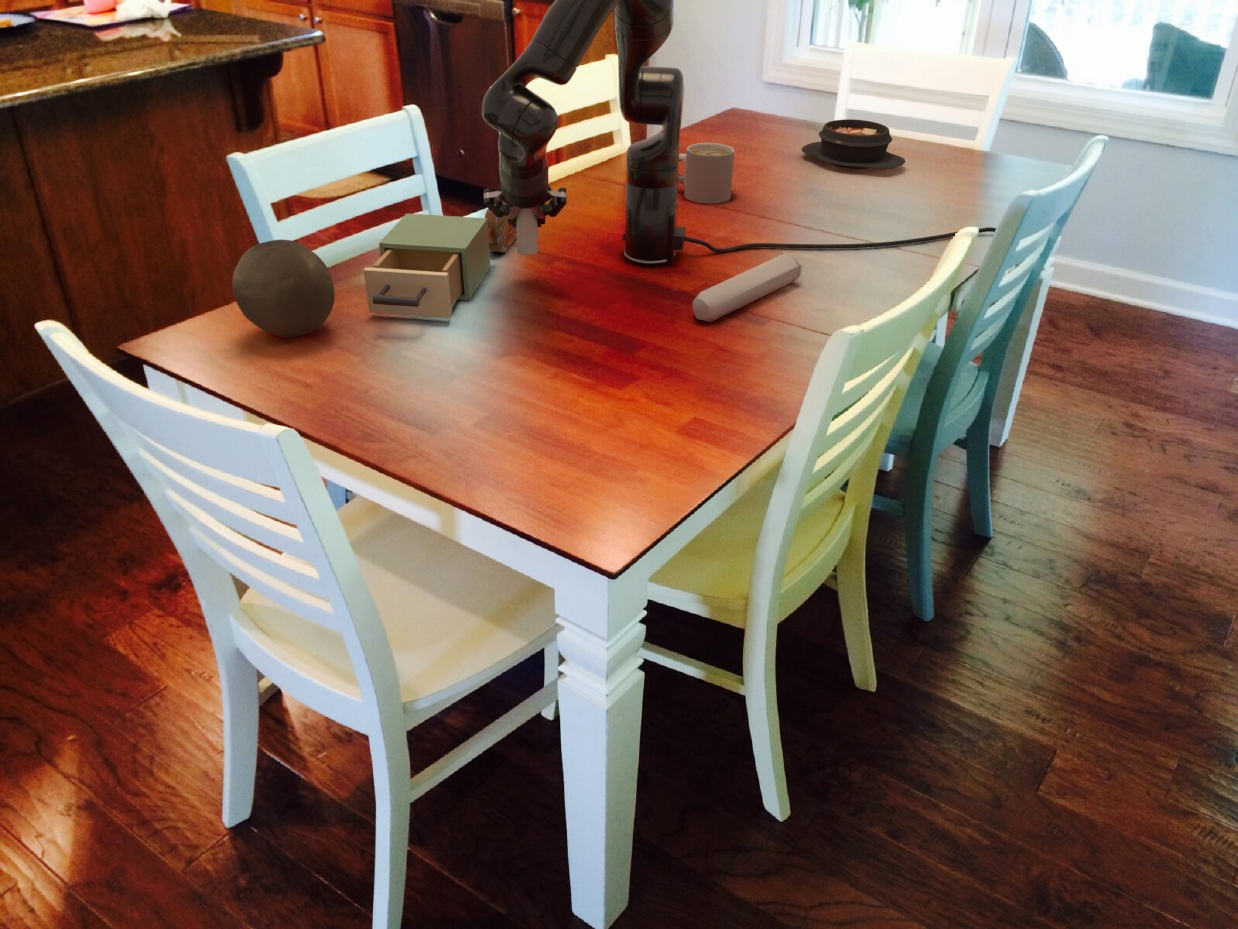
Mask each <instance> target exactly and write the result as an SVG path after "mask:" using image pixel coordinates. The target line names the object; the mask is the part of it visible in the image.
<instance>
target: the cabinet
mask: <svg viewBox="0 0 1238 929" xmlns="http://www.w3.org/2000/svg"><path fill="white" fill-rule="evenodd" d="M378 246H379V254H380V257H381V256H382V255H383V254H384V253H385V252H386V251H387V250H388V249H389V248H397V249H413V250H428V251H443V252H459V253H461V254H462V268H463V281H464V290H463V291H462V293H461V294H460V296H459V297H458V299H457V300H458V301H459V300H460V301H470V300H471V299H472V297H473V295H474V294H475V292H476V291H477V289H478V287H480V285H481V283H482V281H483V280H484V278H485V277H486V275H487V274H488V272H489V270H490V269H491V257H490V256H491V254H490V250H489V237H488V220H487V218H485V217H471V216H454V215H438V214H437V215H436V214H421V213H405V214H404V215H403V216H402V217H401V219H400V220H399V221H398V222H397V223H395V225H394V226H393V227H392V228H391V229H390V230H389V231H388V232H387V234H386V235H385V236H383V238H382V239H381V240H380V241H379V242H378Z"/></svg>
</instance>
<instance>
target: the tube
mask: <svg viewBox="0 0 1238 929" xmlns="http://www.w3.org/2000/svg"><path fill="white" fill-rule="evenodd" d="M802 266H803V264H802V263H801V261H800V260H799V259H798V258H797V256H796V255H795V254H794V253H791V252H786V251H783V252H782V253H781V254H780V255H777V256H776V257H773V258H771V259H769V260H767V261H765V262H763V263H760V264H758V265H756V266H753V267H752V268H750V269H747V270H744V271H743V272H741V273H739V274H736V275H734V276H732V277H730V278H728V279H726V280H723V281H722V282H720V283H717V284H715V285H713V286H710V287H708V288H706V289H704V290H702V291H700V292H699V293H698V294H697V296H696V297H695V298H694V299H693V300H692V303H691V307H692V312H693V314H694V316H695V318H696V320H700V321H705V322H707V323H713V322H714V321H716V320H718V319H720V318H722V317H724V316H727V315H728V314H731V313H732V312H734V311H737V310H739V309H741V308H742V307H745V306H747V305H748V304H751V303H753V302H754V301H756V300H760V298H763V297H765V296H767V295H770V294H771V293H773V292H775V291H777V290H779V289H781V288H783V287H785V286H787V285H789V284H794V283H795V282H796V281H797V280H799V278H801V274H802V268H803V267H802Z"/></svg>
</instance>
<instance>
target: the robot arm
mask: <svg viewBox="0 0 1238 929" xmlns="http://www.w3.org/2000/svg"><path fill="white" fill-rule="evenodd" d="M611 13H612V20H613V27H614V34H615V41H616V48H617V49H616V50H617V59H618V60H617V62H618V63H617V64H618V104H619V110H620V113H621V116H622V117H623V120H624V121H626V122H627V123H630V124H634V125H651V126H662V129H660V131H659V132H658V133H656V134H654V135H652V136H651V137H648V138H644V139H642V140H638V141H636V142H633V143H632V144H630V145H629V146H628V148H627V149H626V163H625V164H626V166H625V167H626V168H625V169H626V170H625V214H624V215H625V216H624V218H625V219H624V220H625V221H624V234H622V242H624V251H623V257H624V259H625V260H626V261H627V262H629V263H631V264H634V265H638V266H645V267H656V266H657V267H659V266H664V265H674V262H675V259H676V253H677V251H683V250H684V247H685V243H686V242H688V243H693V244H697V245H700V246H703V247H706V248H707V249H708V250H710V251H711V252H713V253H718V254H726V253H732V252H736V251H740V250H744V249H745V250H746V249H751V248H773V249H774V248H775V249H813V250H815V249H819V250H822V249H825V250H827V249H829V250H830V249H835V250H836V249H867V248H880V247H893V246H901V245H902V246H903V245H910V244H917V243H924V242H930V241H937V240H943V239H948V238H954V237H956V236H955V233H957V232H958V231H954V232H948V233H943V234H937V235H931V236H925V237H924V236H923V237H918V238H917V237H916V238H910V239H909V238H908V239H902V240H900V239H899V240H892V241H881V242H866V243H829V244H828V243H776V242H775V243H774V242H754V243H753V242H751V243H744V244H739V245H736V246H732V247H726V248H718V247H715V246H713V245H712V244H711V243H709V242H707V241H705V240H701V239H698V238H693V237H689V236H686V226H678V213H679V203H678V192H679V182H678V174H680V173H679V172H680V171H679V170H680V161H679V154H680V145H681V144H680V143H681V128H682V119H683V110H684V109H683V108H684V100H685V78H684V75H683V72H682V70H680V69H679V68H677V67H669V66H647V65H646V66H645V63H647V62H648V61H649V60H650V59H651V58H652V57H653V56H654V55H655V54H656V53H657V52H658V51H659V49H661V48H662V47H663V45H664V44H665V43H666V42H667V40H668V38H669V37H670V35H671V33H672V31H673V27H674V24H675V0H554V2H553V3H552V4H551V6H549V8H548V10H547V11H546V13H545V14H544V16H543V17H542V20H541V21H540V24H539V25H538V27H537V29H536V31H535V33H534V35H533V36H532V38H531V40H530V42H529V43H528V45H527V46H526V48H525V49H524V50H523V51H522V53H521V54H520V55H519V56H518V57H517V59H516V60H515V61H514V62H513V63H512V64H511V65H510V66H509V68H507V70H505V72H504V73H503V74H502V75H500V76H499V77H498V78H497V80H496V81H494V82H493V84H492V85H491V86H490V87H489V88H488V89H487V91H486V92H485V94H484V97H483V99H482V101H481V102H482V103H481V115H482V119H483V120H484V122H485V124H487V125H488V126H489V127H490V128H492V129H493V130H495V131H496V132H498V133H499V136H498V140H497V150H498V158H499V160H498V174H499V175H498V176H499V184H500V186H499V188H498V190H494V191H493V189H491V188H489V187H487V188H484V189H483V204H484V206H485V207H486V208H487V210H488V209H489V210H490V211H491V212H492V213H493V214H494V215H495V216H496V217H499V218H501V217H503V216H507V218H508V224H509V225H512V227H516V215H517V214H518V212H519V210H520V209H525V208H527V209H532V210H533V212H534V213H535V215H537V226H538V228H542V225H545V224H546V217H547V216H548V217H550V218H556V217H557V216H558V215H559V213H560V212H561V211H562V210H563V209H564V207H565V206H566V205H567V203H568V202H567V201H568V200H567V197H568V195H567V188H566V187H560V188H558V190H552V187H551V186H550V185H549V183H550V182H549V181H550V180H549V179H550V178H549V169H550V166H549V162H548V157H547V148H548V146H549V143H550V141H551V140H552V139H553V137H554V135H555V133H556V132H557V129H558V126H559V116H558V112H557V110H556V109H555V107H554V106H553V105H552V104H551V103H549V101H547V100H545V99H544V98H542V97H541V96H540V95H538V94H537V93H535V92H533V91H532V89H529V88H528V87H527V86H528V85H529V84H530V83H531V82H533V81H535V80H537V79H542V80H545V81H547V82H550V83H552V84H555V85H558V86H566V85H567V84H568V83H569V82H570V81H571V79H572V78H573V76H574V75H575V73H576V71H577V68H578V67H579V66H580V65H581V62H582V61H583V58H584V57H585V55H586V54H587V51H588V50H589V48H590V47H591V45H592V43H593V42H594V39H595V38H596V36H597V34H598V33H599V31H600V30H601V28H602V27H603V26H604V23H605V22H606V20H607V19H608V18H609V16H610V15H611ZM503 202H504V203H506V204H507V205H506V204H503ZM547 202H548V203H547ZM978 229H979V233H978V234H982V233H988V232H990V233H991V232H992V233H995V230H996V227H989V226H988V227H981V228H978ZM953 236H954V237H953Z"/></svg>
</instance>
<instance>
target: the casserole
mask: <svg viewBox="0 0 1238 929" xmlns="http://www.w3.org/2000/svg"><path fill="white" fill-rule="evenodd" d="M818 136H819V138H820V141H815V142H811V143H807V144H805V145H804V146H802V147H801V149H800V150H801V152H803V153H804V154H806V155H809V156H812V157H815V158H816V159H817V160H820V161H822V162H825V163H827V164H829V165H831V166H834V167H837V168H841V169H845V170H867V169H870V170H881V171H885V170H892V169H896V168H899V167H902V166H903V165H905V163H906V159H905V158H904V157H902V156H900V155H897V154H894V153H891V152H889V151H887V150H888V148H889V145H890V143H892V141H893V137H892V135H891V132H890V128H889V127H888V126H886V125H884V124H881V123H879V122H875V121H870V120H865V119H864V120H863V119H851V118H850V119H849V118H848V119H836V120H831V121H830V120H829V121H827V122H826V123H824V125H823V126H822V129H821V130H820V131H819V132H818Z"/></svg>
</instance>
